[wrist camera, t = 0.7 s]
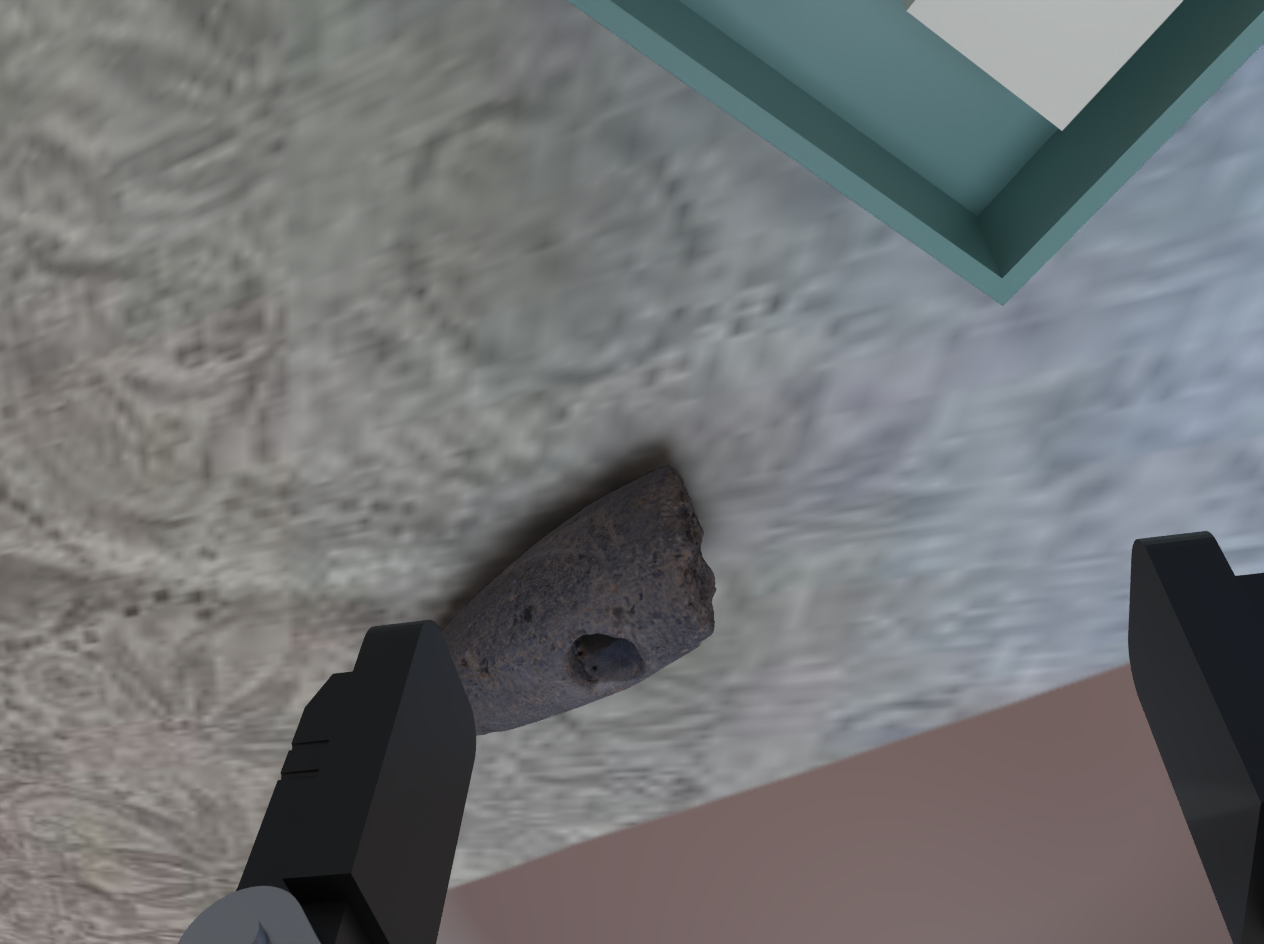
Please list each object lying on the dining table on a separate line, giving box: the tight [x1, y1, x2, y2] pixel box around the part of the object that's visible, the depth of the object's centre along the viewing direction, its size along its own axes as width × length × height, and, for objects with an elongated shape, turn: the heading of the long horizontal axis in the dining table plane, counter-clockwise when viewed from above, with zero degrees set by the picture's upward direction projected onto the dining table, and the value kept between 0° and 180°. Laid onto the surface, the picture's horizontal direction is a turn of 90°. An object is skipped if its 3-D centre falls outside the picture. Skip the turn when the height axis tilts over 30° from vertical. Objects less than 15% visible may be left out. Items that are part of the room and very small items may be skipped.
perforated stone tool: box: [441, 465, 716, 736], centre depth 43 cm, size 15×5×7 cm, turn 130°
